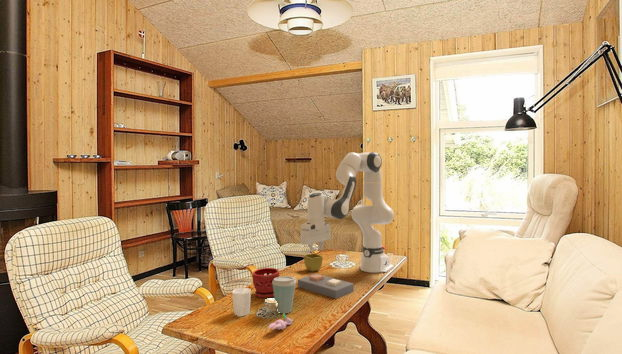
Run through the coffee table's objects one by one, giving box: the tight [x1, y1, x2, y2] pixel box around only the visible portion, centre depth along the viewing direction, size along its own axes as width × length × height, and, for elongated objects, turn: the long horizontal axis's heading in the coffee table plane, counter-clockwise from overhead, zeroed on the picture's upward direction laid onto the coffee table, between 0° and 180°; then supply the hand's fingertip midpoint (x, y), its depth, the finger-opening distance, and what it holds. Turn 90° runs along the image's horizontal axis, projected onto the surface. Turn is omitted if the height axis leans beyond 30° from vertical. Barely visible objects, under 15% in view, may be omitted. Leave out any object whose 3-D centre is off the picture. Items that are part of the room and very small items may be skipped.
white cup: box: [231, 287, 252, 317], centre depth 163 cm, size 8×8×10 cm
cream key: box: [327, 278, 341, 286], centre depth 190 cm, size 5×5×3 cm
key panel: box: [297, 273, 355, 300], centre depth 194 cm, size 14×26×4 cm, turn 47°
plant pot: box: [252, 267, 280, 299], centre depth 186 cm, size 13×13×12 cm
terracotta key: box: [309, 273, 324, 281], centre depth 198 cm, size 5×5×3 cm
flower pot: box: [303, 253, 324, 272], centre depth 228 cm, size 9×9×9 cm
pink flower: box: [268, 313, 295, 331], centre depth 148 cm, size 6×6×15 cm
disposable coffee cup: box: [272, 275, 297, 314], centre depth 165 cm, size 11×11×15 cm
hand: (316, 250), depth 197 cm, fingers open, 5 cm apart
